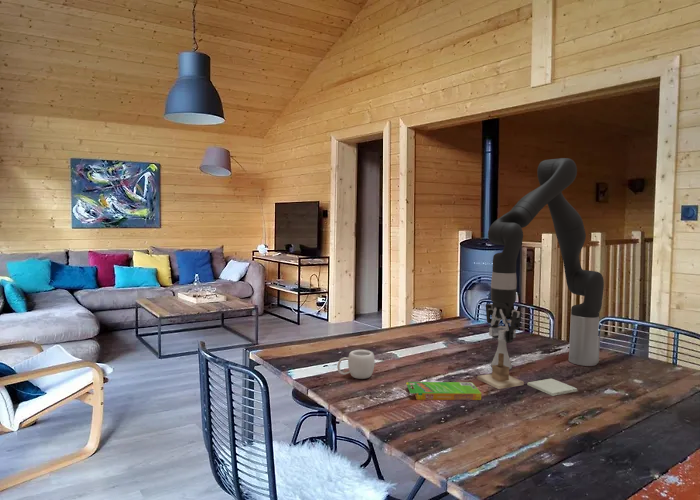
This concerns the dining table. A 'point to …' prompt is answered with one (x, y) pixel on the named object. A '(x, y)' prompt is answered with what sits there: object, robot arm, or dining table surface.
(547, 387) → the coaster
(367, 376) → the mug
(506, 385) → the post stand
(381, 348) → the dining table surface
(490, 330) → the c link
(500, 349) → the flask
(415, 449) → the dining table surface
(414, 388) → the game box
